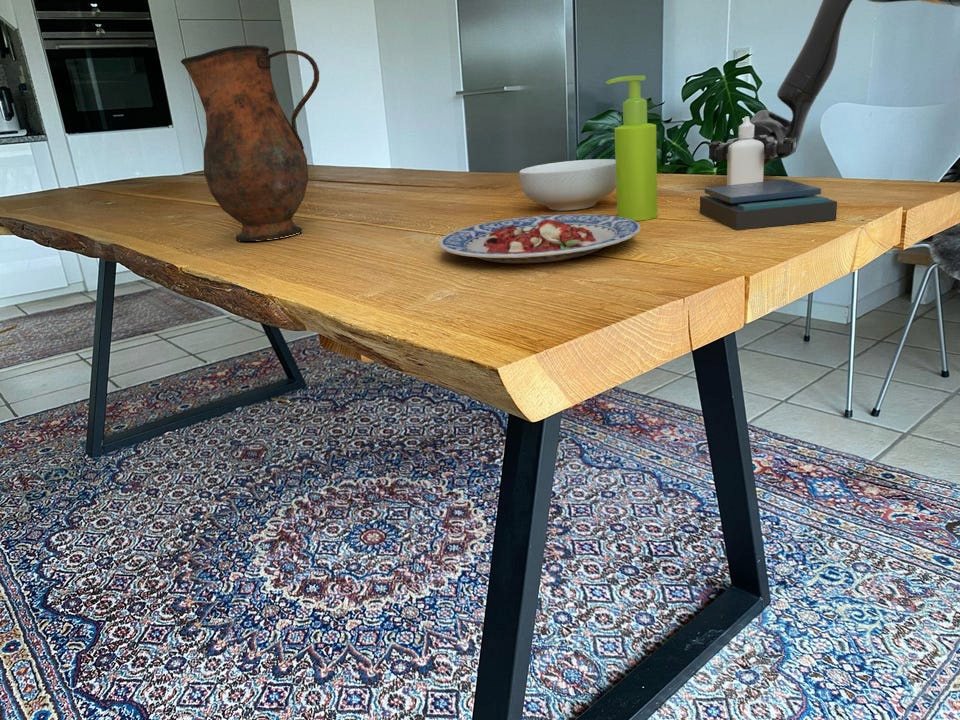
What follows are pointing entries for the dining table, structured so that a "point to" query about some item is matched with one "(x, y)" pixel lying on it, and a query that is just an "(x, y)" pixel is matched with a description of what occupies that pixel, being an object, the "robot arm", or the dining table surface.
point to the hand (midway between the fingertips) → (743, 153)
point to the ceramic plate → (539, 237)
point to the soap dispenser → (635, 156)
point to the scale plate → (762, 191)
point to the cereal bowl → (569, 183)
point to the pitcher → (251, 140)
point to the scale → (769, 211)
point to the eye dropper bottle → (745, 157)
